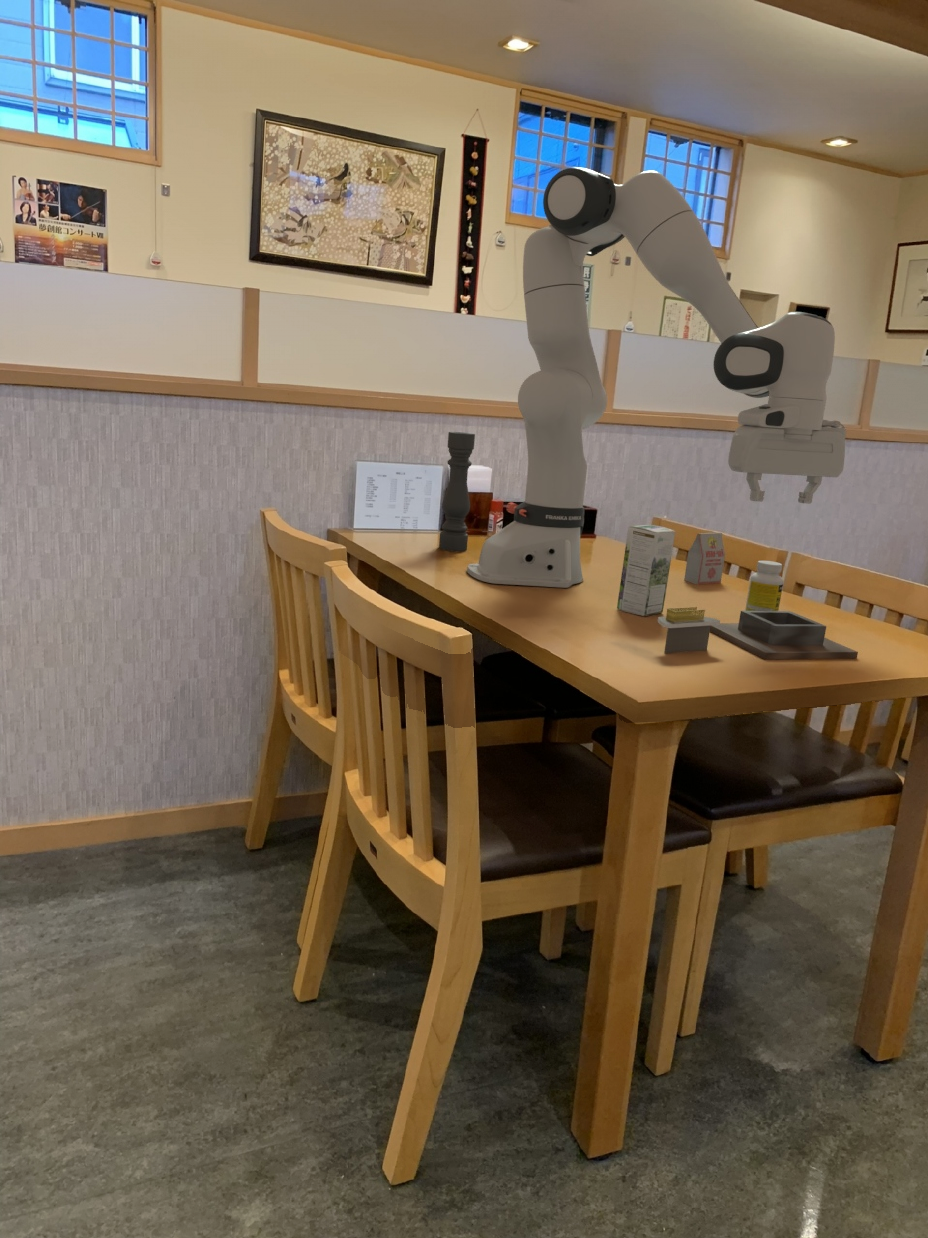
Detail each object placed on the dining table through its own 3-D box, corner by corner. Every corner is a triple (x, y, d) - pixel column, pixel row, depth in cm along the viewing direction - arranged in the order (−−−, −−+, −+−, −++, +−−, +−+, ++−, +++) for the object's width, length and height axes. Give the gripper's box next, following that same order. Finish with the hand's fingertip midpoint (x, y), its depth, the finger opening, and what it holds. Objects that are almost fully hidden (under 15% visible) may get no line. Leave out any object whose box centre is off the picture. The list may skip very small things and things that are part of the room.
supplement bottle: (778, 624, 151) (788, 567, 149) (745, 619, 152) (755, 563, 150) (774, 616, 156) (784, 561, 154) (742, 612, 157) (751, 558, 155)
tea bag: (684, 580, 183) (691, 531, 180) (707, 578, 186) (714, 531, 184) (697, 584, 180) (704, 535, 177) (720, 582, 183) (728, 534, 181)
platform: (607, 644, 131) (612, 601, 130) (700, 637, 140) (706, 597, 138) (660, 669, 121) (666, 623, 120) (756, 660, 130) (764, 616, 128)
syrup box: (635, 606, 156) (646, 523, 152) (664, 613, 152) (676, 529, 148) (616, 609, 152) (626, 524, 148) (645, 617, 148) (656, 530, 144)
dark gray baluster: (437, 545, 199) (446, 431, 193) (465, 547, 200) (474, 433, 194) (440, 550, 193) (448, 432, 187) (468, 552, 194) (478, 434, 188)
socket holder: (764, 659, 129) (769, 632, 128) (705, 629, 144) (709, 604, 142) (856, 658, 133) (861, 632, 132) (790, 629, 148) (794, 605, 147)
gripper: (834, 420, 152) (820, 501, 155) (729, 412, 146) (717, 497, 149) (860, 422, 146) (845, 506, 149) (752, 414, 140) (738, 502, 143)
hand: (780, 502), depth 149 cm, fingers open, 8 cm apart
